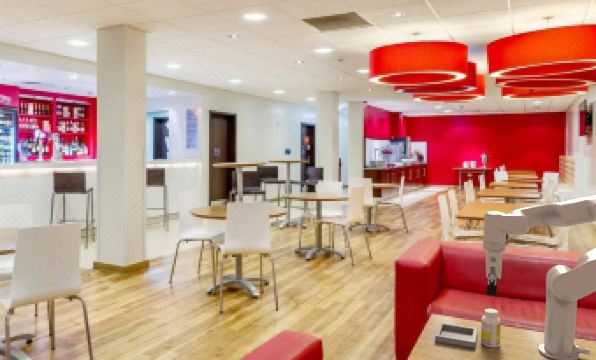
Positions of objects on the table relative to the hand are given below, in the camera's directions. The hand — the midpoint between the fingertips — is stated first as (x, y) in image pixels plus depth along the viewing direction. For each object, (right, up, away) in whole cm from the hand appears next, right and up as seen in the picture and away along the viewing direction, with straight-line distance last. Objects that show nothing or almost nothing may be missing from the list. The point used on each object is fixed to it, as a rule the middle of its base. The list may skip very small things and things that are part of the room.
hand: (492, 291), depth 177 cm
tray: (-11, -20, +7) cm, 23 cm away
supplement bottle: (0, -20, +2) cm, 20 cm away
